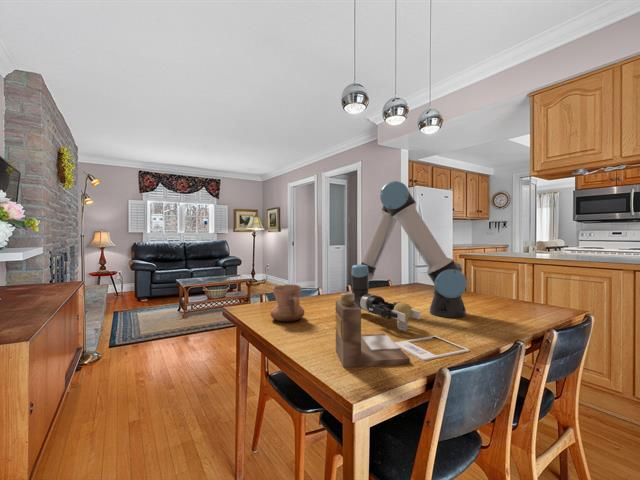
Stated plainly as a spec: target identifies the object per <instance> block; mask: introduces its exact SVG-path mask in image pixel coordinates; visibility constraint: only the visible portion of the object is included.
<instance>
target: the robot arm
mask: <svg viewBox="0 0 640 480" xmlns="http://www.w3.org/2000/svg"><path fill="white" fill-rule="evenodd" d="M379 197H380V202H381V204H382V208H381V210H380V211H381V215H380V219H379V220H378V223H377V224H376V225H377V226H376V228H375V231H374V232H373V235H372V237H371V240H370V242H369V244H368V247H367V249H366V251H365V254H364V256H363V258H362V260H361V263H360V264H353V265H352V266H351V273H350V274H351V291H349V292H348V293H354V303H355V304H356V305H358V306H359V307H360V308H361V311H362V310H363V311H365V312H367V313H368V314H370V313H371V314H373V315H377V316H379V317H382V318H385V319H386V318H387V319H388V320H391V319H395V320H397V321H398V320H400V321H403V322H405V314H404V313H401V312H398V311H395V310H394V306H395V305H396V304H398V303H399V302H395V301H394V302H393V303H392V302H389V301H385V299H384V298H383V297H382V296H378V295H375V294H372V293H369V282H370V281H371V280H373V279H374V276H375V272H376V270H377V267H378V266H379V263H380V260H381V258H382V256H383V253H384V251H385V249H386V248H387V244H388V242H389V239H390V237H391V235H392V232H393V230H394V228H395V226H396V224H397V222H399V224H400V226H401V227H402V228H403V230H404V232H405V234H406V235H407V236H408V238H409V240H410V242H411V243H412V244H413V246H414V248H415V249H416V251H417V253H418V254H419V256H420V257H421V259H422V260H423V262H424V264H425V265H426V267H427V272H426V274H427V275H428V277H429V278H430V279H431V281H432V284H433V298H432V300H431V303H430V307H429V313H430V314H432V315H433V316H436V317H441V318H451V319H452V318H453V319H455V318H464V317H466V316H467V310H466V307H465V304H464V301H463V298H462V295H463V294H464V293H465V292H466V290H467V285H468V281H467V278H466V276H465V275H464V274H463V272H462V271H463V268H462V264H461V263H458V262H457V263H456V262H455V260H454V259H453V258H449V257H447V255H446V253H445V252H444V251H443V248H442V247H441V246H440V244H439V243H438V241H437V239H435V237H434V235H433V233H432V231H430V229H429V227H428V226H427V224H426V222H425V221H424V220H423V218H422V216H421V215H420V214H419V212H418V210H417V209H416V206H417V202H416V200H415V198H414V197H413V196H412V194H411V193H410V191H409V189H408V187H407V185H406V183H405V184H404V183H403V182H401V181H397V180H394V181H393V180H392V181H389V182H387V183H386V184H384V185H383V187H382V188H381V190H380V194H379ZM410 308H411V315H410V317H411V318H414V319H417V320H421V311H419V310H416V309H413V308H412V306H410ZM410 317H409V318H410Z"/></svg>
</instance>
